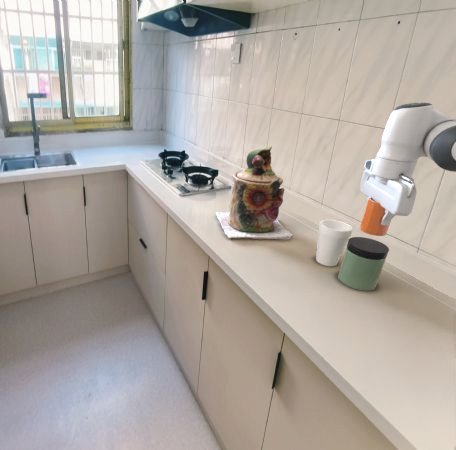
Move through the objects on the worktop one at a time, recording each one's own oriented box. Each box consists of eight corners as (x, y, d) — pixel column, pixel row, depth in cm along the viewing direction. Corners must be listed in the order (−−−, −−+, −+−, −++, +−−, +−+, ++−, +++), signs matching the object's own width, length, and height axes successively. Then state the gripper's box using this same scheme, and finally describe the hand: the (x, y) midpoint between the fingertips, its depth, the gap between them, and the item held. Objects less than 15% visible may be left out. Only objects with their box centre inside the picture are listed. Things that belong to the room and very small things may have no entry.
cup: (379, 227, 97) (388, 197, 93) (390, 236, 91) (401, 205, 87) (355, 225, 97) (364, 196, 93) (365, 235, 91) (375, 203, 88)
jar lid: (376, 244, 101) (378, 238, 100) (394, 261, 91) (396, 254, 91) (341, 241, 102) (342, 235, 101) (355, 257, 92) (357, 251, 92)
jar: (366, 273, 105) (377, 240, 100) (382, 292, 96) (395, 256, 91) (332, 270, 106) (342, 237, 101) (345, 289, 96) (356, 253, 92)
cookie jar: (213, 215, 145) (222, 139, 132) (269, 215, 147) (283, 141, 134) (228, 240, 123) (240, 152, 110) (293, 241, 124) (313, 154, 111)
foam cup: (313, 251, 117) (321, 217, 112) (342, 259, 113) (353, 223, 107) (309, 263, 109) (318, 226, 104) (340, 271, 105) (351, 234, 100)
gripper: (431, 181, 77) (410, 235, 83) (385, 161, 96) (371, 206, 101) (402, 179, 78) (383, 233, 83) (362, 159, 96) (349, 205, 102)
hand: (376, 218), depth 92 cm, fingers closed on cup, 6 cm apart
